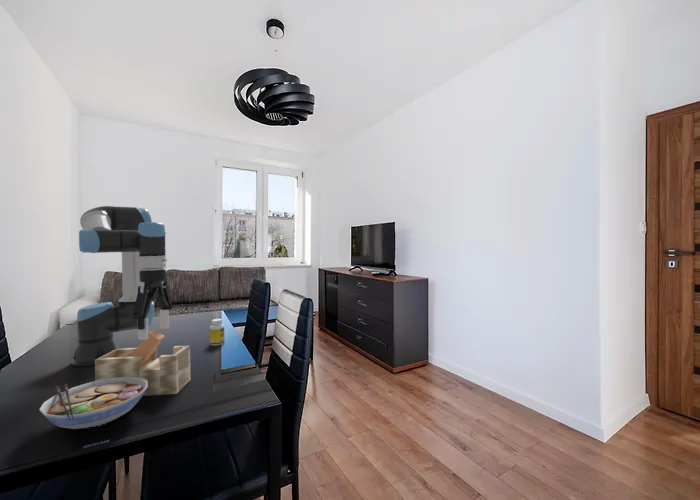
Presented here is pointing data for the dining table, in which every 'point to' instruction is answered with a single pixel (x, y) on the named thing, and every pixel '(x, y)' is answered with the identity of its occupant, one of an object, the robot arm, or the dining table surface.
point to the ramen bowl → (94, 402)
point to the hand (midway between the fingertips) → (154, 333)
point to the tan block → (148, 345)
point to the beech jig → (148, 369)
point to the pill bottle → (217, 332)
